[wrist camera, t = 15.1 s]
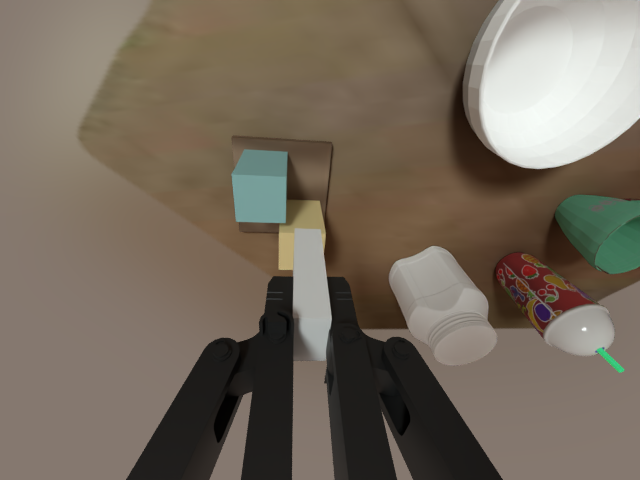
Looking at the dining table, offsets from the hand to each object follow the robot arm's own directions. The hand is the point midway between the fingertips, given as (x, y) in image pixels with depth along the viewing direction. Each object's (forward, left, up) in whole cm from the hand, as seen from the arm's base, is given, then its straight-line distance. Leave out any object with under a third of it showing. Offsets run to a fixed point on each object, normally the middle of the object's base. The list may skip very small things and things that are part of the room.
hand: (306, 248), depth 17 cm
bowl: (-11, +25, -23) cm, 35 cm away
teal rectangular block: (+3, -4, -21) cm, 22 cm away
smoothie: (+18, +38, -23) cm, 48 cm away
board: (+6, -2, -23) cm, 23 cm away
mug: (+6, +45, -23) cm, 51 cm away
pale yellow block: (+9, +1, -22) cm, 23 cm away
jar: (+20, +22, -23) cm, 38 cm away
